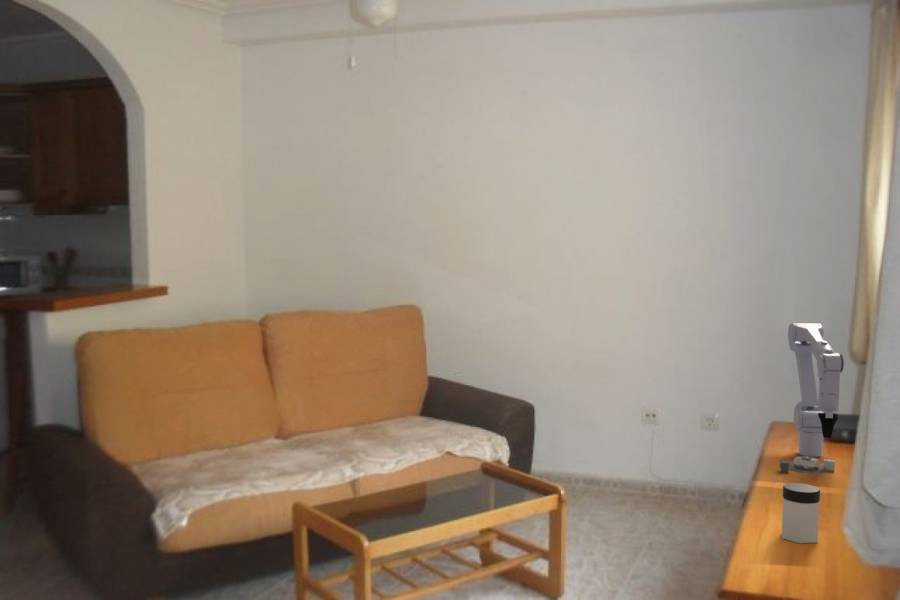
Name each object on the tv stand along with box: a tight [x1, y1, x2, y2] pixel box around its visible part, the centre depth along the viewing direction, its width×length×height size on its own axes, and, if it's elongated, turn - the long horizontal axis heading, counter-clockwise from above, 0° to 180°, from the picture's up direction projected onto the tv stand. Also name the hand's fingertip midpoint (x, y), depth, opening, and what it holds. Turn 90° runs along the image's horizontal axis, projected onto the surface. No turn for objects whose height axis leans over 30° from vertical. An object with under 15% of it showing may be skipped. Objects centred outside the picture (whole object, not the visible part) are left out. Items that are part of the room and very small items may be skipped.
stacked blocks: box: [779, 460, 790, 475], centre depth 269 cm, size 3×2×4 cm
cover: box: [793, 455, 820, 471], centre depth 274 cm, size 7×7×3 cm
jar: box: [781, 482, 821, 544], centre depth 214 cm, size 9×8×12 cm
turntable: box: [788, 459, 836, 475], centre depth 274 cm, size 13×14×4 cm
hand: (826, 437), depth 277 cm, fingers closed
